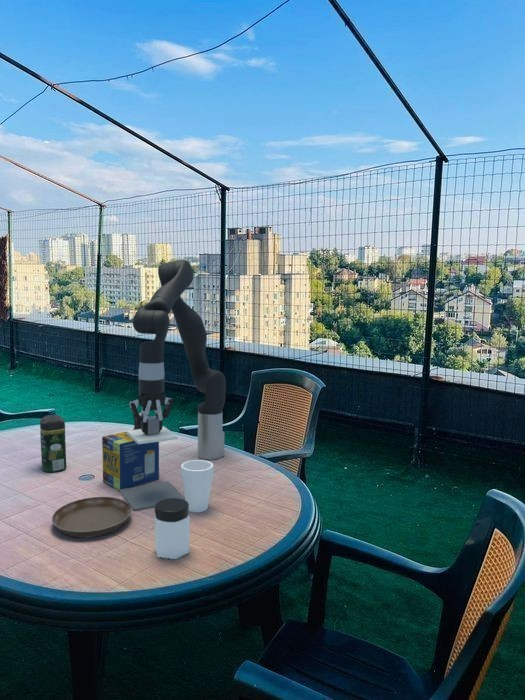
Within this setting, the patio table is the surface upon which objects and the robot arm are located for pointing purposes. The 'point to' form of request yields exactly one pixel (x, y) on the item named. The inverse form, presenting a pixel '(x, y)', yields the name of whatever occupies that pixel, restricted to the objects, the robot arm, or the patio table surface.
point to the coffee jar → (53, 443)
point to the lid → (152, 432)
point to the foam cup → (197, 483)
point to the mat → (149, 494)
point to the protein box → (128, 461)
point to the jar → (172, 528)
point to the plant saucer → (91, 516)
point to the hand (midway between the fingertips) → (151, 432)
